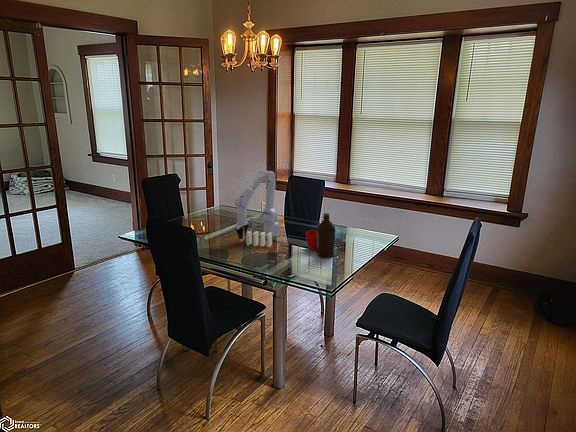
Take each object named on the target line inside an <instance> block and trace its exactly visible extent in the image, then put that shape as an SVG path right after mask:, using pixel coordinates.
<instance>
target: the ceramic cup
mask: <svg viewBox="0 0 576 432" xmlns="http://www.w3.org/2000/svg"><path fill="white" fill-rule="evenodd" d="M305 239H306V241H305V242H306V243H307V246H308V247H309V248H310V250H312V251H317V229H315V230H313V229H311V230H307V231H306V232H305Z"/></svg>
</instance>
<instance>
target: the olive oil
mask: <svg viewBox="0 0 576 432" xmlns="http://www.w3.org/2000/svg"><path fill="white" fill-rule="evenodd" d="M322 217H323V218H322V221H321V222H320V223H318V225H317V227H316V230H317V253H316V254H317V257H318V258H321V259H330V258H333V257H334V254H335V241H336V240H335V238H336V227H335V225H334V224H333V223H332V222H331V220H330V213H328V212H324V213H323V216H322Z"/></svg>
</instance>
